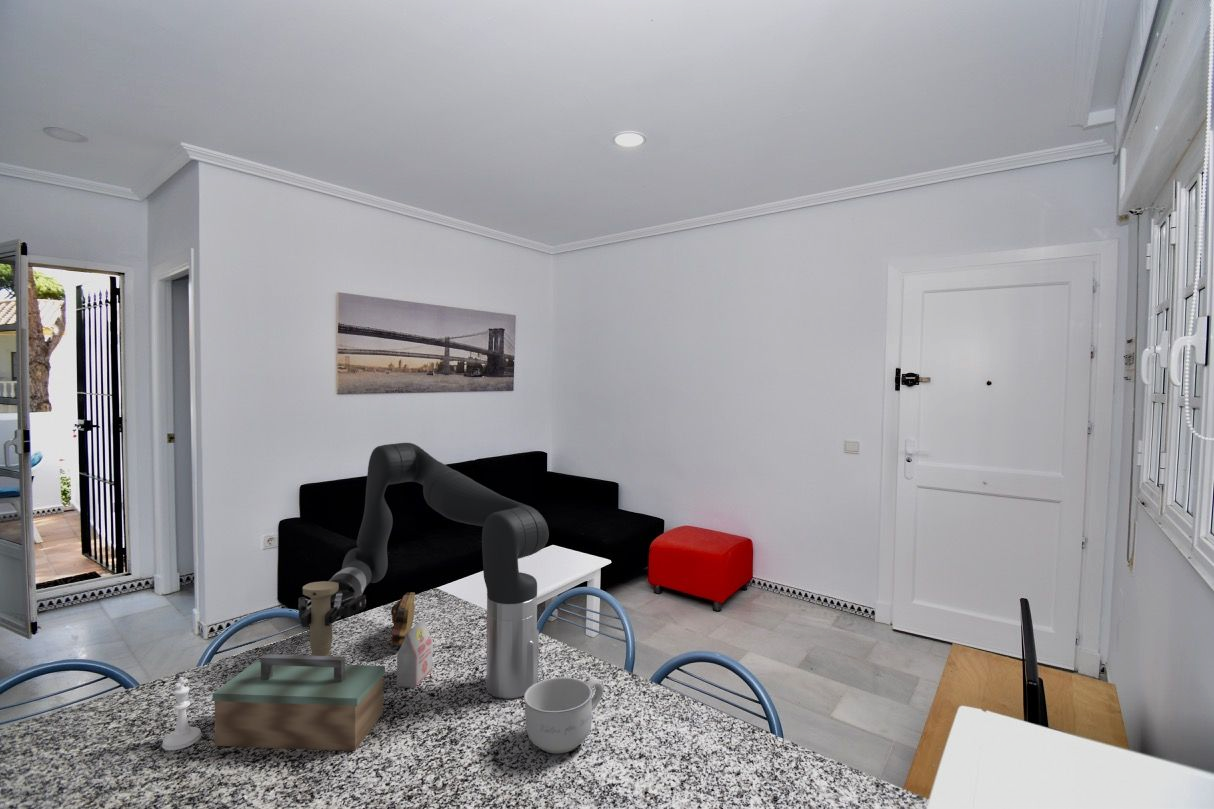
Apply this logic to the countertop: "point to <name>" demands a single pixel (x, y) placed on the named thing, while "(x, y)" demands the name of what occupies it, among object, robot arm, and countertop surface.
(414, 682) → the milk carton
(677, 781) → the countertop surface
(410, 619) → the wooden carving
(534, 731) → the teacup
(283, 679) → the toolbox
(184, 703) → the chess piece
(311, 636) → the handle
